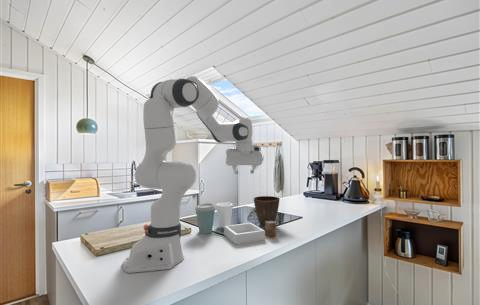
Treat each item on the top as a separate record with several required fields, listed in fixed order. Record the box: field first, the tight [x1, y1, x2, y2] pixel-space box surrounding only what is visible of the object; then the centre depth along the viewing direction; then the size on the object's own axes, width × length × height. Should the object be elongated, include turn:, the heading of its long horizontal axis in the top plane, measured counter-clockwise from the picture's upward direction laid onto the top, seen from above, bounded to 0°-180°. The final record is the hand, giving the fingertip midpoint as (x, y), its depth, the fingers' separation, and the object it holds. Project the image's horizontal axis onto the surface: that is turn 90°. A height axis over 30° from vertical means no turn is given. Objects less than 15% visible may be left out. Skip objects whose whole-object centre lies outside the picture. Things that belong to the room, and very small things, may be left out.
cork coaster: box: [265, 234, 279, 240], centre depth 129 cm, size 8×8×1 cm
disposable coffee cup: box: [194, 202, 216, 235], centre depth 136 cm, size 11×11×15 cm
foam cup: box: [215, 202, 234, 229], centre depth 146 cm, size 10×9×13 cm
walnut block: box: [264, 221, 277, 238], centre depth 129 cm, size 4×4×7 cm
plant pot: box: [253, 195, 281, 228], centre depth 149 cm, size 15×15×16 cm
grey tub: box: [223, 222, 266, 245], centre depth 127 cm, size 15×15×5 cm
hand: (244, 173), depth 138 cm, fingers open, 8 cm apart
